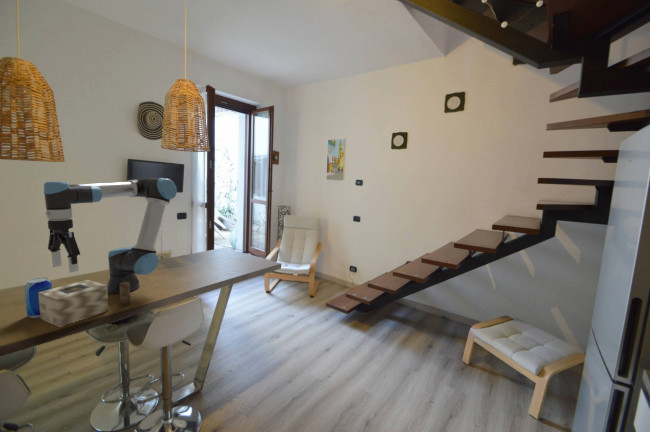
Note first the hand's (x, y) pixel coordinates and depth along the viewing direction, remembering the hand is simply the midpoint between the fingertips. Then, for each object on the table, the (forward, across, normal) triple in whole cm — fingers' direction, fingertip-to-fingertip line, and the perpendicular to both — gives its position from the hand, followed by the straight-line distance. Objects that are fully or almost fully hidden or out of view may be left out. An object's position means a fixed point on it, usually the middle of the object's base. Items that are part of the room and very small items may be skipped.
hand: (65, 268), depth 119 cm
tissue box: (+23, -4, +4) cm, 24 cm away
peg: (+23, +5, +20) cm, 31 cm away
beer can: (+23, -17, -4) cm, 29 cm away
